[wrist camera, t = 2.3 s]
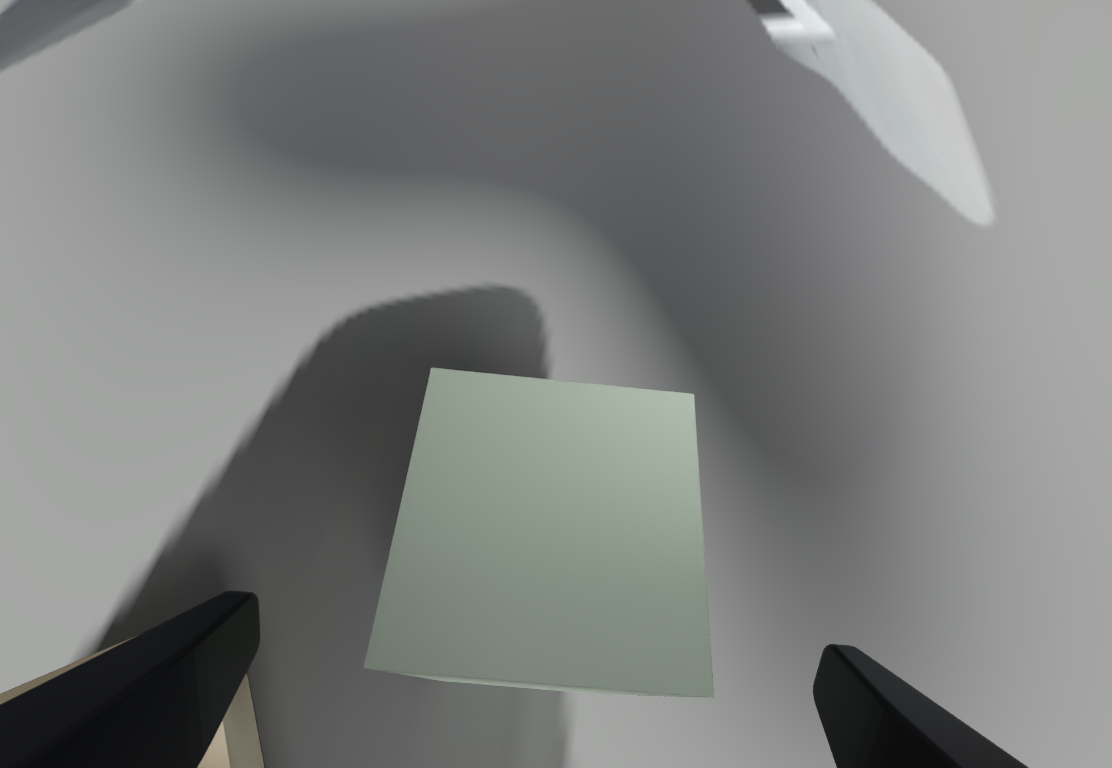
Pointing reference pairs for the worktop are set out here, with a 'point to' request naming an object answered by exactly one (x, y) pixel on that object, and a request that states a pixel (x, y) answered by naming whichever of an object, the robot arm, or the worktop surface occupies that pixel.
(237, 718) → the stepped square pedestal
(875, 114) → the worktop surface
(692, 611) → the sage brick
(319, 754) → the worktop surface
